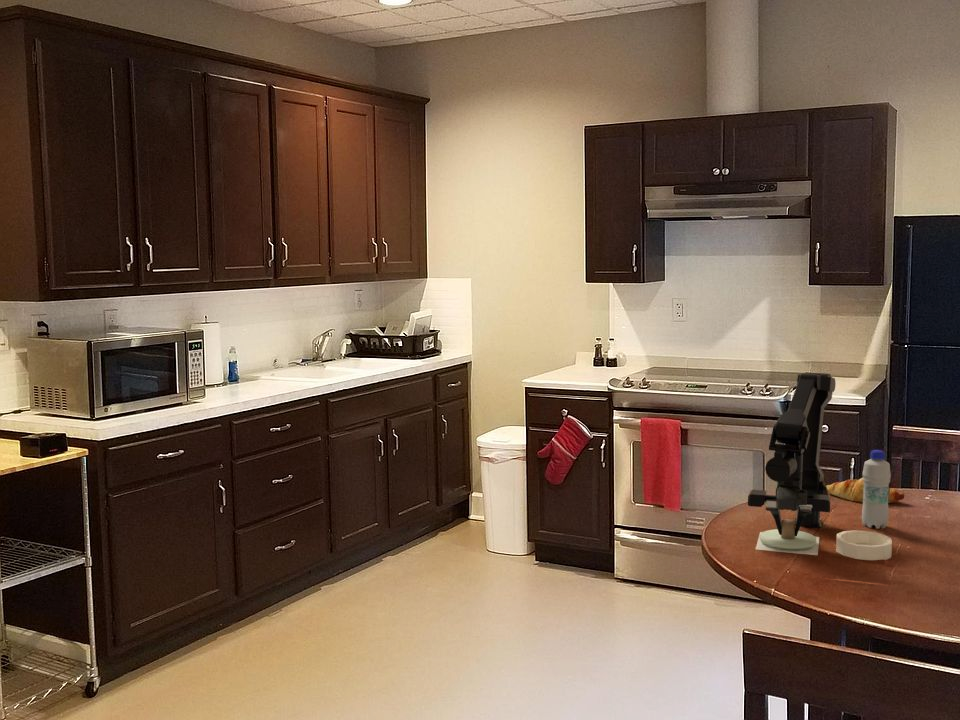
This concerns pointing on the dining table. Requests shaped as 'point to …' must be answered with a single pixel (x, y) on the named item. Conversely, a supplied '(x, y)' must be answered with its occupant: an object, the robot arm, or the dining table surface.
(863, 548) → the bowl
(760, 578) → the dining table surface
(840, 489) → the croissant
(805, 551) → the mat
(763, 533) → the lid
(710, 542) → the dining table surface
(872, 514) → the bottle
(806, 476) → the robot arm
